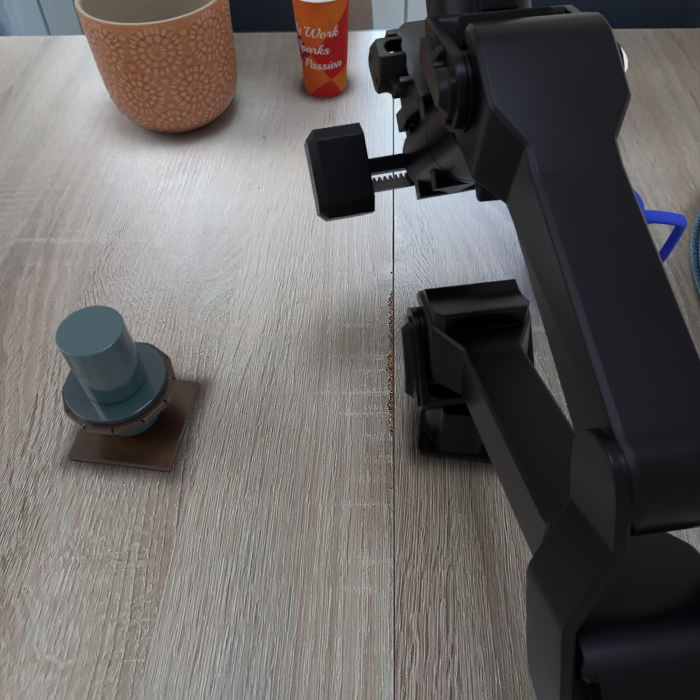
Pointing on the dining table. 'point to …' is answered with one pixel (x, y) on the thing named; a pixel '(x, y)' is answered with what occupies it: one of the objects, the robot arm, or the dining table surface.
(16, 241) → the dining table surface
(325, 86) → the paper cup
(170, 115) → the planter
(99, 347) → the blue-grey flanged cylinder
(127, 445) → the cup holder
